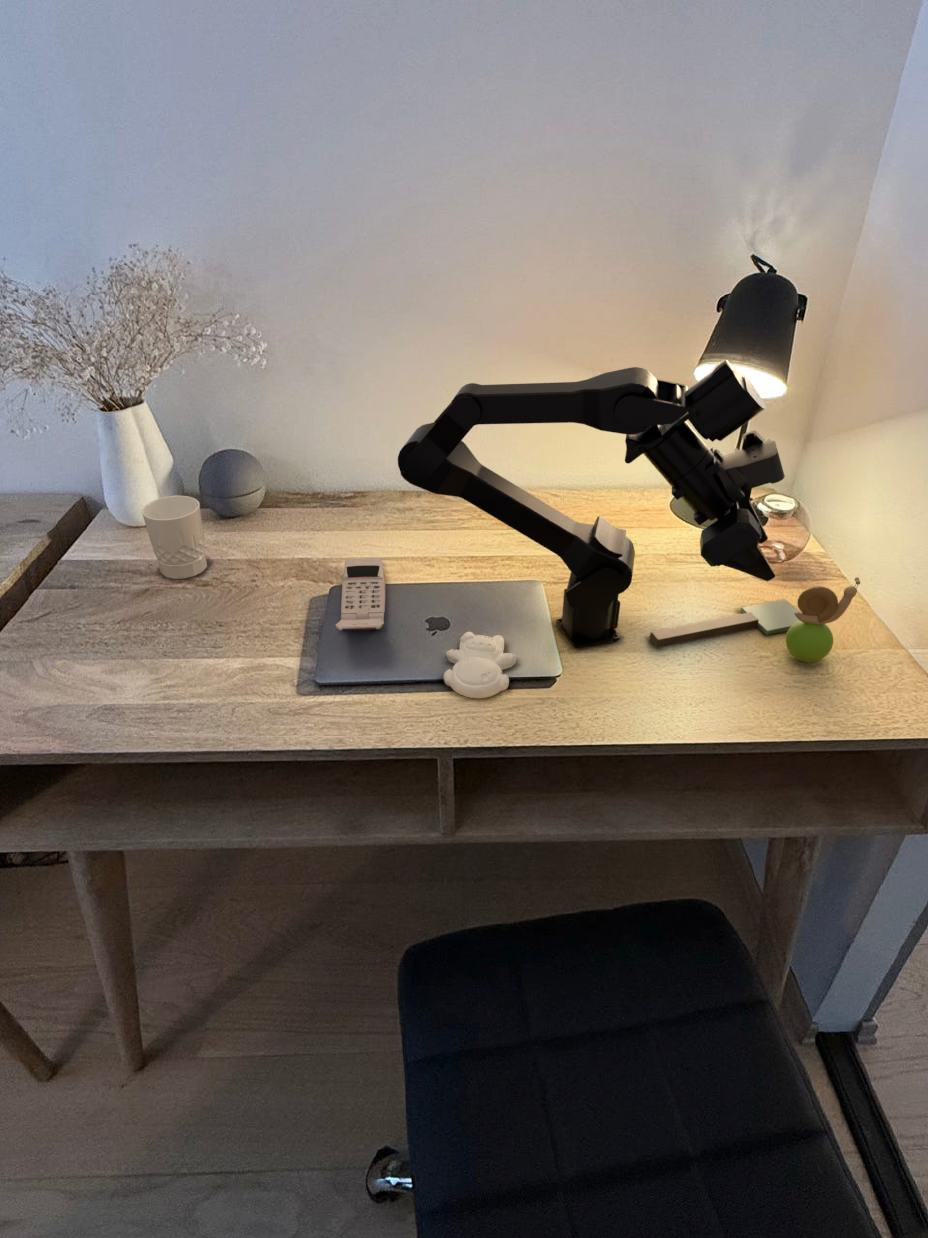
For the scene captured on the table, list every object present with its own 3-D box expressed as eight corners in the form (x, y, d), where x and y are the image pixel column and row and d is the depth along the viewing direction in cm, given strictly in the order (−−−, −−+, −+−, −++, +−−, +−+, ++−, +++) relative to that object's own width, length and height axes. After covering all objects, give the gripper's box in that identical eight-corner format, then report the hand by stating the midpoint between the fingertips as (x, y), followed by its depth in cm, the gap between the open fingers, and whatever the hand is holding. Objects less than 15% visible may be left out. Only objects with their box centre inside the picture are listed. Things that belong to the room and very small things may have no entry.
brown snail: (838, 674, 101) (865, 591, 94) (784, 668, 102) (806, 585, 96) (831, 649, 106) (856, 567, 99) (779, 643, 107) (800, 562, 100)
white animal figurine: (522, 646, 106) (523, 626, 104) (503, 703, 96) (504, 683, 95) (456, 636, 108) (456, 617, 106) (431, 692, 98) (430, 672, 97)
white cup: (145, 575, 121) (129, 514, 116) (179, 551, 127) (166, 491, 122) (189, 586, 119) (175, 523, 113) (222, 560, 125) (210, 500, 119)
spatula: (664, 656, 104) (666, 648, 104) (642, 630, 109) (643, 623, 108) (811, 626, 110) (813, 618, 109) (783, 603, 115) (785, 595, 114)
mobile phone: (334, 628, 99) (342, 530, 120) (337, 667, 102) (344, 566, 123) (384, 626, 100) (383, 529, 120) (386, 665, 103) (385, 564, 124)
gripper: (755, 451, 82) (844, 560, 86) (742, 391, 97) (818, 486, 101) (663, 515, 87) (751, 614, 92) (665, 449, 103) (740, 537, 107)
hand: (767, 559), depth 98 cm, fingers open, 9 cm apart
